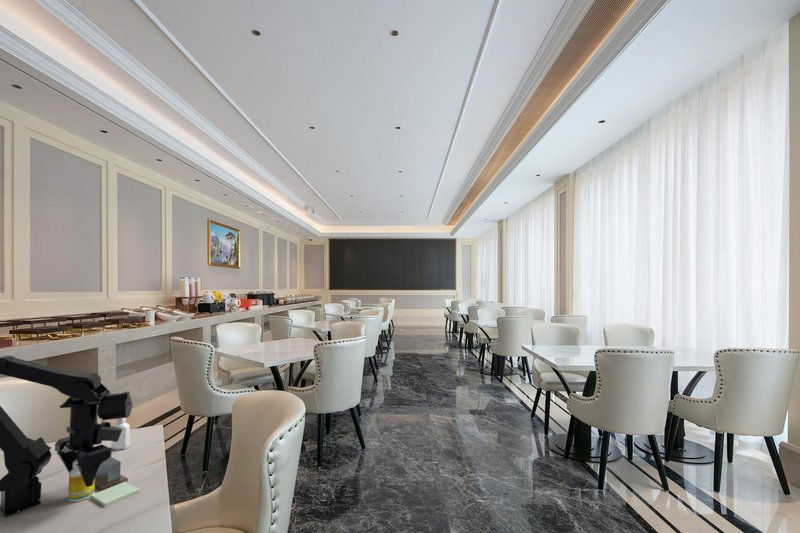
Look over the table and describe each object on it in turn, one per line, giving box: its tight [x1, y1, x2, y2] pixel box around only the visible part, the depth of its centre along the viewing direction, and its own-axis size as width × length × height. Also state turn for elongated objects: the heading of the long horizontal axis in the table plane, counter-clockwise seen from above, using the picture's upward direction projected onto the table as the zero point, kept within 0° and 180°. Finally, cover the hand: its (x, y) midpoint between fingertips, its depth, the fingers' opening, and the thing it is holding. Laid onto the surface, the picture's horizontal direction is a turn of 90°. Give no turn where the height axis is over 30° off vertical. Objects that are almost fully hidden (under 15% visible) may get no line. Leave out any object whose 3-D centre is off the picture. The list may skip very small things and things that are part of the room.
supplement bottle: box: [67, 460, 96, 503], centre depth 101 cm, size 5×5×10 cm
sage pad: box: [90, 481, 141, 508], centre depth 102 cm, size 8×8×1 cm
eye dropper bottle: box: [111, 418, 131, 451], centre depth 132 cm, size 4×6×12 cm
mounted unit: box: [95, 456, 129, 491], centre depth 109 cm, size 6×10×6 cm, turn 59°
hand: (81, 481), depth 101 cm, fingers open, 9 cm apart
